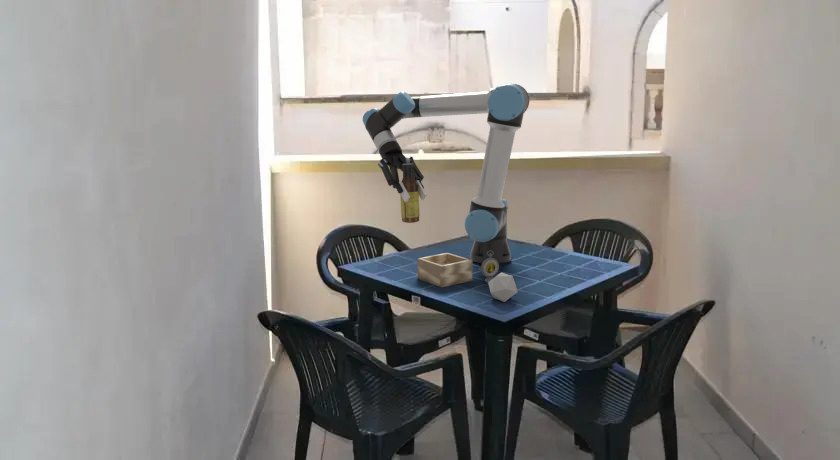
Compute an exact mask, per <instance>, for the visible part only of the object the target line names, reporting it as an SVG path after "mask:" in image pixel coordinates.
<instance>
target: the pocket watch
mask: <svg viewBox="0 0 840 460" xmlns="http://www.w3.org/2000/svg"><path fill="white" fill-rule="evenodd" d="M488 252H489V251H488ZM488 252H487V253H488ZM492 252H493V251H492ZM493 254H494V253H493ZM493 254H491V253H490V254H489V256H490V258H487V259H486V260H484V261H483V263H481V266H480V271H481V274H482V275H483V277H486V278H485V279H484V282H485V283H487V284H488V282H489V281H490V280H492V279H493V278H494V277H496V276H497V275H498V273H499V269H500V264H499V263H498V261H497V260H496V259H494V258H491V256H492V255H493ZM487 255H488V254H487Z"/></svg>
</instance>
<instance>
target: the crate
mask: <svg viewBox="0 0 840 460" xmlns="http://www.w3.org/2000/svg"><path fill="white" fill-rule="evenodd" d="M417 280H421V281H423V282H425V283H428V284H431V285H435V286H437V287H439V288H445V287H450V286H455V285H458V284H459V285H460V284H463V283H468V282H472V281H473V261H472V260H471V259H470V258H466V257H463V256H460V255H456V254H452V253H450V252H445V253H440V254H433V255H428V256H424V257H419V258H417Z"/></svg>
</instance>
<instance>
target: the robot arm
mask: <svg viewBox="0 0 840 460" xmlns="http://www.w3.org/2000/svg"><path fill="white" fill-rule="evenodd" d="M529 106H530V96H529V93H528V91H527V90H526V88H524V87H523V86H522V85H520V84H517V83H509V82H508V83H502V84H499V85H498V86H496V87H491V88H490V89H489V91H480V92H479V91H478V92H465V93H453V94H452V93H451V94H450V93H448V94H435V95H434V94H433V95H421V96H410V95H409V94H408V93H407V92H405V91H400V92H398V93H397V94H395V95H394V96H393V97H392V98H391V99H390V100H389V101H388V102H387V103H386V104H384V105H383V106H382V107H381V108H380V109H378V108H371V109H369V110H367V111H366V112H365V113H364V114H363V116H362V123H363V125H364V127H365V130H366V131H367V133H368V135H369V137H370V139H371V140H372V143H373V144H374V146H375V148H376V150H377V152H378V154H379V157H381V159H380V160H379V162H378V164H377V166H378V167H379V168H380V169H381V171H382V173H383V176H384V178H385V181H386V183H387V185H388V186H389V187H392V188H393V189H396V191H397V193H398V194H399V195H400V194H401V196H402V197H403V199H404V201H405V202H407V201H408V200H409V198H410V196H409V194H408V192H407V190H406V189H405V187H404V185H403V183H402V182H401V181H400V177H399V171H401V172H403V168H402V164H406V163H413V164H414V177H415V180H416V183H417V186H418V191H419V199H421V201H424V200H425V199H426V197H427V195H428V194H427V193H426V191H425V187H424V185H423V183H422V181H423V180H424V179H425V177H424V175H423V174H422V173H423V172H421V170H420V169H419V167H418V166H417V164H416V162H415V159H414V157H413V156H410V157H406V156H405V155H404V153H403V149H402V148H401V146H400V143H399V142H398V140H397V138H396V137H395V135H394V133H393V132H392V128H394V126H396V125H397V124H398V123H399V122H400V121H402V120H403V119H404V120H405V119H410V118H411V119H414V118H426V117H443V116H445V117H446V116H447V117H448V116H459V115H460V116H462V115H465V116H466V115H477V114H479V115H481V114H487V118H486V123H487V124H488V125H489V132H488V137H487V142H486V148H485V152H484V156H483V157H484V158H483V162H482V167H481V172H480V178H479V183H478V188H477V192H476V195H475V196H474V197H472V198H471V202H470V206H469V212H468V214H467V216H466V218H465V220H464V229H465V230H464V231H465V232H466V234H467V236H468V237H469V238H471V239H472V240H473V244H472V248H471V250H470V253H469V254H470V255H469V256H470V257H469V259H470V260H472V262H474V263H477V264H482V263H483V261H484V260H486V259H487V258H490V256H489V254H490V253H491V254H493V253H494V254H493V255H492V256H491V258H494V259H496V260H497V261H498V263H499V265H501V264H506V263H509V262H510V261H511V260H512V253H511V250H510V247H509V246H510V245H509V243H508V240H507V239H508V235H507V234H508V233H507V232H508V210H509V208H508V207H509V206H508V201H507V200H506V199H505V198H503V194H504V188H505V185H506V178H507V174H508V169H509V164H510V160H511V155H512V154H511V153H512V149H513V145H514V139H515V135H516V132H517V131H518V130H520V129H521V128H522V123H523V119H524V115H525V113H526V111H527V110H528V109H529ZM398 169H399V171H398ZM488 251H489V252H488ZM492 251H493V252H492ZM487 252H488V253H487ZM487 254H488V255H487Z"/></svg>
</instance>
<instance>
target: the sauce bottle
mask: <svg viewBox="0 0 840 460" xmlns="http://www.w3.org/2000/svg"><path fill="white" fill-rule="evenodd" d="M402 168H403V171H402V179H401V181H400V182H402V183H403V185H404V187H405V189H406V190H407V192H408V194H409V196H410V198H409V200H408V201H407V202H405V201H404V199H403V197H402V196H401V194H399V195H400V211H401V212H400V213H401V214H400V215H401V221H402V223H407V224H408V223H409V224H412V223H413V224H414V223H417V222H420V217H421V215H420V196H419V191H418V186H417V183H416V180H415V177H414V164H413V163H406V164H402Z"/></svg>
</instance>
